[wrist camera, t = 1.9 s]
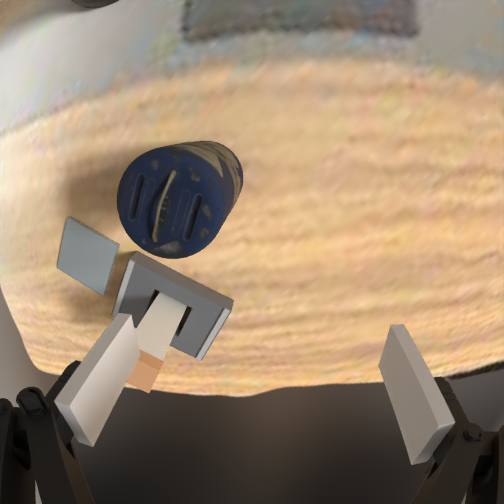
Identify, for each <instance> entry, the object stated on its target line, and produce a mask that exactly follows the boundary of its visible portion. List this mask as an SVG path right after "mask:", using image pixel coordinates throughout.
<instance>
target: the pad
mask: <svg viewBox="0 0 504 504" xmlns="http://www.w3.org/2000/svg"><path fill="white" fill-rule="evenodd" d="M119 245H120V244H118V243H116V242H114V241H112V240H111V239H109V238H107V237H105V236H103V235H102V234H100V233H98V232H96V231H95V230H93V229H91V228H89V227H88V226H86V225H84V224H82V223H81V222H79V221H77V220H75V219H74V218H72V217H70V216H69V217H67V221H66V226H65V230H64V235H63V240H62V244H61V250H60V255H59V260H58V266H57V268H58V269H60V270H61V271H63V272H64V273H66V274H67V275H69V276H71V277H72V278H74V279H75V280H77V281H79V282H80V283H82V284H84V285H85V286H87V287H88V288H90V289H92V290H94V291H95V292H97V293H99V294H100V295H102V296H104V295H105V292H106V288H107V285H108V281H109V278H110V274H111V271H112V268H113V264H114V261H115V258H116V255H117V251H118V248H119Z"/></svg>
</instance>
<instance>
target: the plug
mask: <svg viewBox="0 0 504 504" xmlns="http://www.w3.org/2000/svg"><path fill="white" fill-rule="evenodd" d="M186 308H187V305H185V304H183V303H181V302H179V301H177V300H175V299H173V298H171V297H169V296H167V295H165V294H164V293H162V292H160V293H159V294H158V296H157V297H156V299H155V300H154V302H153V303H152V305H151V306H150V308H149V309H148V311H147V313H146V314H145V316H144V317H143V319H142V320H141V322H140V324H139V325H138V327H137V328H136V330H135V334H136V338H137V343H138V347H139V351H140V355H141V356H140V357H139V359H138V361H137V363H136V365H135V367H134V369H133V370H132V372H131V374H130V376H129V378H128V380H127V383H129V384H131V385H133V386H135V387H137V388H139V389H141V390H143V391H145V392H147V393H149V392H150V390H151V388H152V386H153V383H154V381H155V379H156V377H157V375H158V373H159V371H160V369H161V366H162V364H163V362H164V361H163V358H164V356H165V354H166V352H167V349H168V347H169V345H170V343H171V341H172V338H173V336H174V334H175V332H176V330H177V327H178V325H179V323H180V321H181V319H182V316H183V314H184V312H185V310H186Z"/></svg>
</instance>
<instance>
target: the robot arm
mask: <svg viewBox="0 0 504 504" xmlns="http://www.w3.org/2000/svg"><path fill="white" fill-rule="evenodd" d="M72 1H73V2H75V3H77V4H79V5H81V6H84V7H88V8H96V7H102V6H106V5H109V4H111V3H114V2H116V1H118V0H72ZM140 356H141V355H140V351H139V347H138V343H137V338H136V334H135V329H134V325H133V320H132V315H131V314H124V313H118V314H117V315H116V317H115V318H114V319H113V321H112V322H111V323H110V325H109V326H108V327H107V328H106V330H105V331H104V332H103V334H102V335H101V336H100V338H99V339H98V340H97V342H96V343H95V344H94V346H93V347H92V348H91V350H90V351H89V353H88V354H87V355H86V357H85V358H84V359H83V361H82V362H81V361H77V360H76V361H74V362H73V363H71V364H70V365H68V366H67V368H66V369H65V370H64V372H63V373H62V375H61V376H60V377H59V379H58V381H56V383H55V384H54V385H53V387H52V388H51V390H50V391H49V392H48V394H47V395H46V397H44V395H43V393H42V391H41V390H40V389H39V388H36V387H27V388H25V389H23V390H22V391H20V392H19V394H18V395H17V398H16V402H17V403H18V405H19V408H18V407H13V405H12V404H11V402H10V401H9V400H8V399H4V398H1V399H0V504H36V501H35V500H36V499H35V479H36V483H37V486H38V490H39V494H40V498H41V501H42V504H95V502H94V500H93V498H92V496H91V493H90V491H89V488H88V485H87V483H86V480H85V477H84V475H83V472H82V469H81V466H80V464H79V461H78V458H77V455H76V452H75V448H74V445H73V443H72V441H71V439H72V437H73V435H75V437H76V438H77V440H78V442H80V443H83V444H86V445H89V446H92V447H93V446H94V444H95V442H96V440H97V438H98V436H99V434H100V432H101V430H102V428H103V426H104V424H105V422H106V420H107V418H108V416H109V414H110V412H111V410H112V408H113V406H114V404H115V403H116V401H117V399H118V397H119V395H120V393H121V391H122V389H123V387H124V385H125V383H126V382H127V380H128V378H129V376H130V374H131V372H132V370H133V369H134V367H135V365H136V363H137V361H138V359H139V357H140ZM379 369H380V371H381V374H382V377H383V380H384V382H385V385H386V388H387V391H388V394H389V396H390V399H391V402H392V405H393V408H394V411H395V414H396V417H397V420H398V423H399V426H400V429H401V432H402V435H403V439H404V441H405V445H406V448H407V451H408V455H409V458H410V461H411V465H413V464H417V463H422V462H426V461H428V459H429V458H430V457H431V456H432V454H433V456H434V458H435V461H434V462H433V464H432V465H431V466H430V468H428V470H427V471H426V472H425V473H428V474H427V476H426V477H425V480H424V481H423V483H422V485H421V487H420V489H419V490H418V492H417V494H416V496H415V498H414V499H413V501H412V503H411V504H461V503H462V501H463V498H464V496H465V494H466V500H465V504H504V425H503V426H502V427H501V428H500V429H499V431H498V432H484V431H483V430H482V429H481V428H480V427H479V426H478V425H476V424H474V423H469V421H468V419H467V417H466V415H465V413H464V411H463V409H462V407H461V405H460V403H459V402H458V400H457V399H456V396H455V394H454V393H453V390H452V388H451V386H450V385H449V383H448V382H447V381H446V380H445V379H443V378H442V377H434V378H433V376H432V374H431V372H430V370H429V368H428V367H427V365H426V363H425V361H424V359H423V357H422V356H421V354H420V352H419V350H418V348H417V346H416V345H415V343H414V341H413V339H412V338H411V336H410V334H409V332H408V331H407V329H406V327H405V325H404V324H401V325H390V329H389V333H388V336H387V340H386V343H385V346H384V350H383V353H382V356H381V359H380V363H379ZM466 491H467V493H466Z"/></svg>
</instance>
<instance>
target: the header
mask: <svg viewBox="0 0 504 504" xmlns="http://www.w3.org/2000/svg"><path fill="white" fill-rule="evenodd" d="M156 290H158V291H160V292H162V293H164V294H165V295H167V296H169V297H171V298H173V299H175V300H177V301H179V302H181V303H183V304H185V305H187V306H189V307H191V308H192V309H191V311H190V313H189V315H188V317H187V319H186V321H185V323H184V325H183V326H182V325H180V324H179V325H178V327H177V330H176V332H175V334H174V336H173V338H172V341H171V343H170V346H172V347H174V348H176V349H178V350H180V351H182V352H184V353H186V354H188V355H191V356H193V357H195V358H196V360H198V361H202V359H203V357H204V356H205V354H206V352H207V351H208V349H209V348H210V346H211V344H212V343H213V341H214V339H215V338H216V336H217V334H218V333H219V331H220V329H221V328H222V326H223V324H224V323H225V321H226V319H227V318H228V316H229V314H230V313H231V310H232V306H233V302H234V300H232V299H230V298H228V297H226V296H224V295H222V294H220V293H218V292H216V291H214V290H212V289H210V288H208V287H206V286H204V285H202V284H200V283H198V282H196V281H194V280H192V279H190V278H188V277H186V276H184V275H182V274H180V273H178V272H176V271H175V270H173V269H171V268H169V267H167V266H165V265H163V264H161V263H159V262H157V261H155V260H153V259H152V258H150V257H148V256H146V255H144V254H142V253H140V252H138V251H137V252H136V253H135V254H134V255H133V256H132V257H131V258H130V259H129V261H128V264H127V267H126V270H125V273H124V276H123V279H122V282H121V285H120V289H119V292H118V295H117V298H116V302H115V305H114V308H113V312H112V317H114V318H115V317H116V315H117V314H118V313H124V314H131V315H132V320H133V325H134V327H135V328H137V327H138V325H139V324H140V322H141V320H142V319H143V317H144V316H145V314H146V313H147V311H148V309H149V308H150V305H151V303H152V300H153V298H154V295H155V293H156Z"/></svg>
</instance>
